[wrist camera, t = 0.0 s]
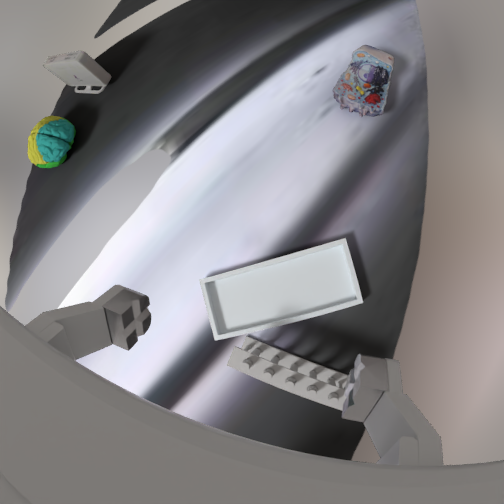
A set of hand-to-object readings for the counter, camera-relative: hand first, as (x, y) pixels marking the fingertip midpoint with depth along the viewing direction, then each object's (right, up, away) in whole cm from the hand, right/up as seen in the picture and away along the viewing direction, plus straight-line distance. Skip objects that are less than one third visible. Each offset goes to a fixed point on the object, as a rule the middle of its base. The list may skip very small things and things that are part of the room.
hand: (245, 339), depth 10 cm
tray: (+6, -5, +54) cm, 54 cm away
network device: (-59, +66, +75) cm, 116 cm away
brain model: (-67, +40, +74) cm, 107 cm away
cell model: (+29, +44, +54) cm, 76 cm away
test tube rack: (+10, -22, +52) cm, 57 cm away
